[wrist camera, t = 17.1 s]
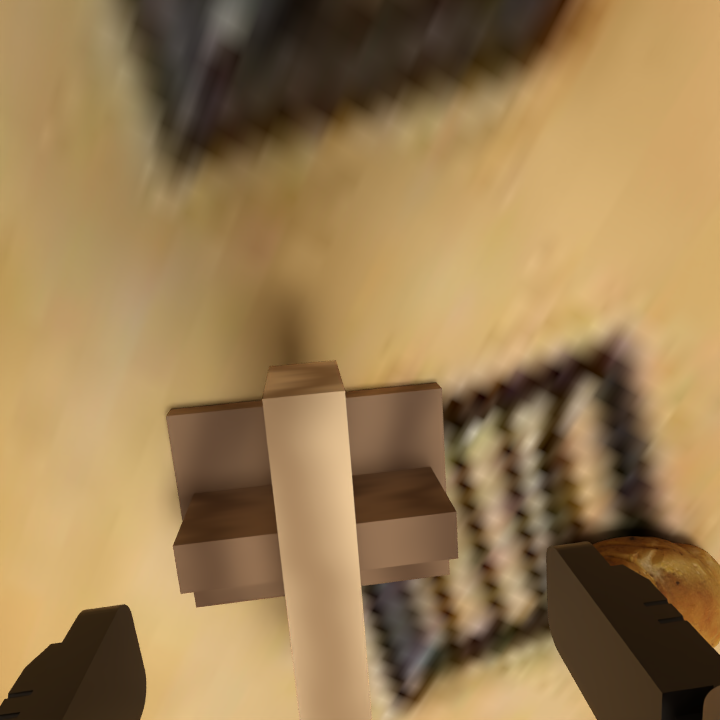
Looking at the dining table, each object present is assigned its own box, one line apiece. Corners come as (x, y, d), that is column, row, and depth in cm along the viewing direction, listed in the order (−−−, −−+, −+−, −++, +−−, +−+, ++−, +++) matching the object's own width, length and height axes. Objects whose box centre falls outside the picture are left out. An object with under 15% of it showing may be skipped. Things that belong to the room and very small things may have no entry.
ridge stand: (436, 382, 39) (470, 419, 31) (444, 562, 42) (477, 636, 35) (171, 409, 38) (138, 454, 30) (199, 594, 41) (176, 678, 33)
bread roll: (706, 516, 44) (793, 577, 36) (691, 625, 46) (771, 705, 38) (547, 527, 43) (602, 592, 35) (540, 638, 45) (590, 723, 37)
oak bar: (335, 360, 30) (344, 390, 24) (365, 707, 35) (378, 802, 29) (269, 366, 30) (262, 399, 24) (308, 715, 35) (310, 813, 29)
